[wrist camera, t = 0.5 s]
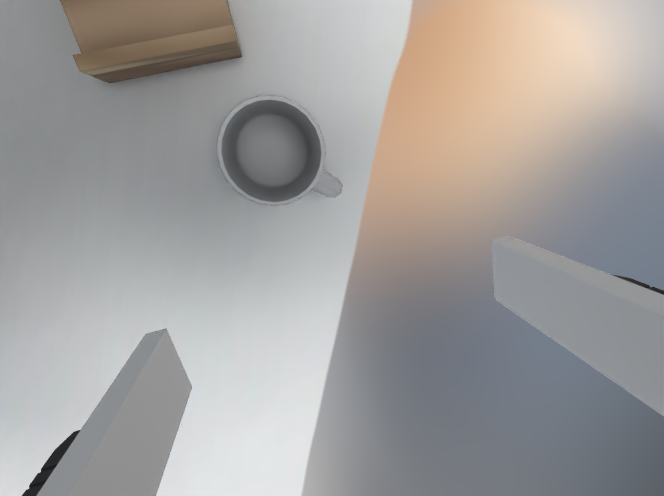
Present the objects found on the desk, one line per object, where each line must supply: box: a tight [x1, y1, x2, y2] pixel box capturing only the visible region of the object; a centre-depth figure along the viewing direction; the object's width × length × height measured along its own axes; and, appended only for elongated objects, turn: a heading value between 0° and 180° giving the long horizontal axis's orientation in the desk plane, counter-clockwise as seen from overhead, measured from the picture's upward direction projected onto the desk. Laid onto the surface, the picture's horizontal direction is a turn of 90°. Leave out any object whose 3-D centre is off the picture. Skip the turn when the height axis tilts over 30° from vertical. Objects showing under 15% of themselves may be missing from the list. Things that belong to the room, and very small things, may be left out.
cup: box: [217, 95, 342, 206], centre depth 27 cm, size 7×10×9 cm
